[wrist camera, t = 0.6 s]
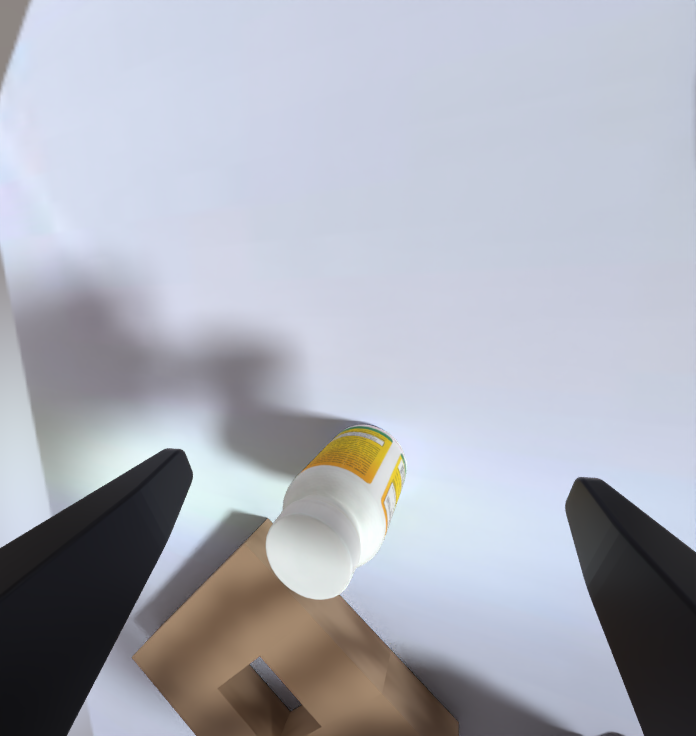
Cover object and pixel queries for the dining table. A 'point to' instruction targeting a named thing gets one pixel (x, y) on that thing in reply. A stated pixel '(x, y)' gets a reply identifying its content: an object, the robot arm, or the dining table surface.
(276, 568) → the supplement bottle
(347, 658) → the socket block
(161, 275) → the dining table surface
